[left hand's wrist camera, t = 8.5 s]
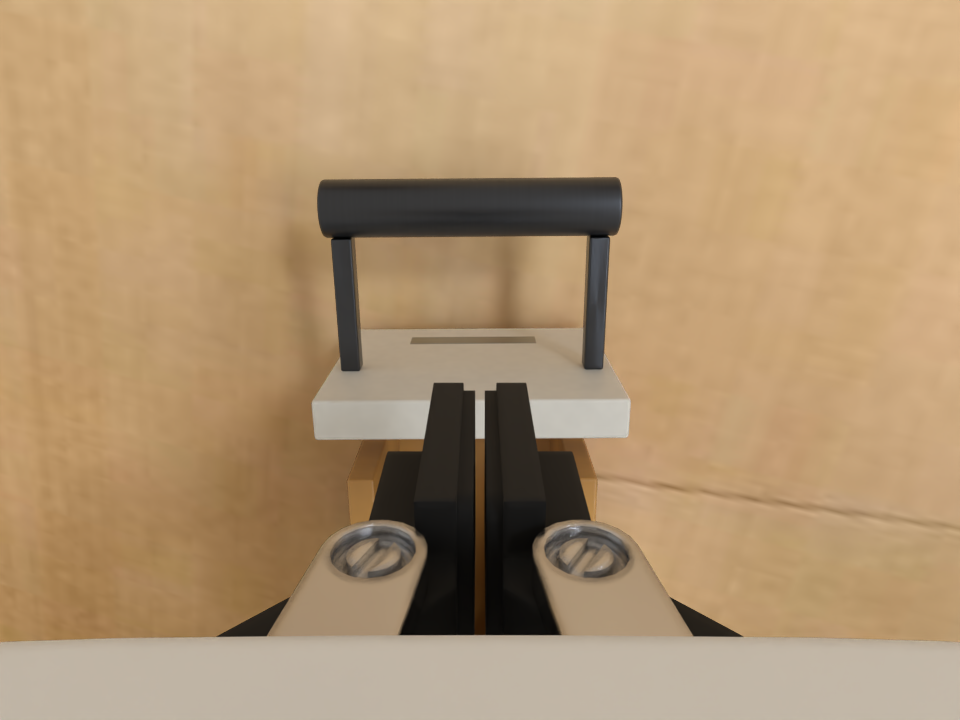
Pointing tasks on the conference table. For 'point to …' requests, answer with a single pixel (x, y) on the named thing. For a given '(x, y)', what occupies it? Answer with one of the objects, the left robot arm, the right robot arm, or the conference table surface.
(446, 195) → the drawer
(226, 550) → the conference table surface
